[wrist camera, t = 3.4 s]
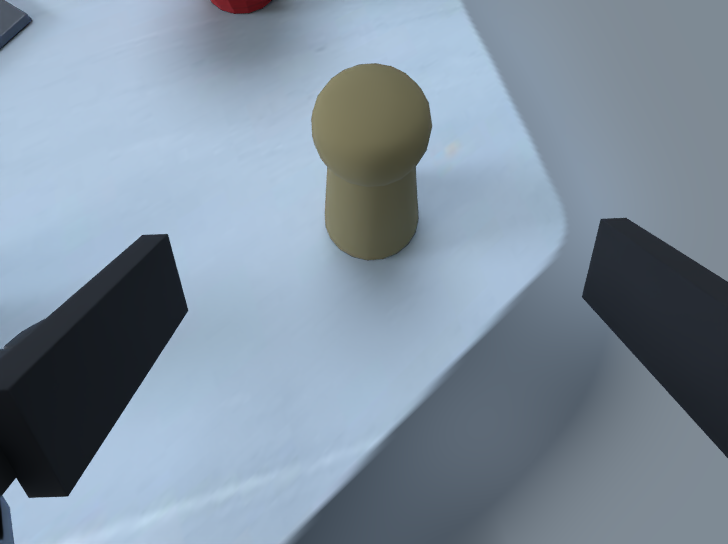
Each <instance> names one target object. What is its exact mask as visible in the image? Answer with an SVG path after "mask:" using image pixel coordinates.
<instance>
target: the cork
mask: <svg viewBox="0 0 728 544" xmlns="http://www.w3.org/2000/svg"><path fill="white" fill-rule="evenodd" d="M311 122H312V137H313V141H314V144H315V146H316V149H317V151H318V153H319V156H320V158H321V159H322V161H323V162H324V163H325V165H326V166H327V182H326V200H325V225H326V228H327V231H328V233H329V236H330V238H331V240H332V241H333V242H334V243H335V244H336V245H337V246H338V247H339V249H340V250H342V251H344V252H345V253H347V254H349V255H351V256H352V257H356V258H360V259H365V260H376V259H384V258H387V257H389V256H392V255H394V254H397V253H398V252H399V251H400V250H402V249H403V248H404V247H405V246H406V245H408V243H409V242H410V240H411V239H412V237H413V235H414V234H415V232H416V227H417V223H418V203H417V185H416V165H417V164H418V162H419V161H420V159H421V158H422V156H423V155H424V153H425V152H426V150H427V146H428V142H429V138H430V133H431V129H432V122H431V115H430V108H429V102H428V100H427V99H426V97H425V95H424V93H423V91H422V90H421V88H420V87H419V86H418V84H417V83H416V82H415V81H413V80H412V79H411V78H410V77H409V76H408V75H407V74H406V73H404V72H402V71H400V70H398V69H396V68H394V67H392V66H387V65H381V64H376V63H374V64H360V65H356V66H354V67H351V68H348V69H345V70H343V71H342V72H340V73H339V74H337V75H336V76H334V77H333V78H332V79H331V80H330V81H329V82H328V83H327V85H326V86H325V87H324V89H323V90H322V91H321V92H320V94H319V95H318V97H317V100H316V103H315V106H314V109H313V113H312V119H311Z"/></svg>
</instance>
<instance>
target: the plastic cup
mask: <svg viewBox="0 0 728 544" xmlns="http://www.w3.org/2000/svg"><path fill="white" fill-rule="evenodd" d="M271 1H272V0H211V2H212V3H213V4H214V5H216V6H217V7H218V8H220V9H221V10H223V11H227V12H230V13H234V14H240V13H251V12H253V11H256V10H259V9H262V8H263V7H265V6H266V5H267V4H268V3H270V2H271Z"/></svg>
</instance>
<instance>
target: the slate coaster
mask: <svg viewBox="0 0 728 544" xmlns="http://www.w3.org/2000/svg"><path fill="white" fill-rule="evenodd" d="M31 21H32V19H31V18H30V17H29V16H28V15H27V14H26V13H25V12H23V11H21V10H20V9H18V8H16V7H15V6H13V5H11V4H10V3H8V2H6V1H5V0H0V48H1V47H3V46H4V45H5V44H6V43H7V42H8V41H9V40H10V39H12V38H13V37H14V36H15V35H16V34H17V33H18V32H19V31H20V30H22V29H23V28H24V27H25V26H26V25H27V24H28V23H29V22H31Z"/></svg>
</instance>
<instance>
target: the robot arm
mask: <svg viewBox="0 0 728 544" xmlns="http://www.w3.org/2000/svg"><path fill="white" fill-rule="evenodd" d="M582 297H583V299H584V300H585V301H586V302H587V303H588V304H589V305H590V306H591V308H592V309H593V310H594V311H595V312H596V313H597V314H598V315H599V316H600V317H601V319H602V320H603V321H604V322H605V323H606V324H607V325H608V326H609V327H610V329H611V330H612V331H613V332H614V333H615V334H616V335H617V336H618V337H619V338H620V340H621V341H622V342H623V343H624V344H625V345H626V346H627V347H628V348H629V349H630V351H631V352H632V353H633V354H634V355H635V356H636V357H637V358H638V359H639V361H640V362H641V363H642V364H643V365H644V366H645V367H646V368H647V369H648V371H649V372H650V373H651V374H652V375H653V376H654V377H655V378H656V379H657V380H658V381H659V383H660V384H661V385H662V386H663V387H664V388H665V389H666V390H667V391H668V393H669V394H670V395H671V396H672V397H673V398H674V399H675V400H676V401H677V402H678V404H679V405H680V406H681V407H682V408H683V409H684V410H685V411H686V412H687V414H688V415H689V416H690V417H691V418H692V419H693V420H694V421H695V422H696V423H697V425H698V426H699V427H700V428H701V429H702V430H703V431H704V432H705V433H706V435H707V436H708V437H709V438H710V439H711V440H712V441H713V442H714V443H715V444H716V446H717V447H718V448H719V449H720V450H721V451H722V452H723V453H724V454H725V456H726V457H727V458H728V282H727V281H725V280H724V279H722V278H721V277H719V276H718V275H716V274H714V273H713V272H711V271H710V270H708V269H707V268H705V267H703V266H701V265H700V264H698V263H697V262H695V261H694V260H692V259H691V258H689V257H687V256H686V255H684V254H683V253H681V252H679V251H678V250H676V249H675V248H673V247H672V246H670V245H668V244H667V243H665V242H664V241H662V240H660V239H659V238H657V237H656V236H654V235H652V234H651V233H649V232H648V231H646V230H644V229H643V228H641V227H640V226H638V225H637V224H635V223H633V222H631V221H630V220H629V219H627V218H613V219H601V220H600V224H599V229H598V233H597V237H596V241H595V246H594V249H593V253H592V257H591V262H590V266H589V270H588V274H587V278H586V282H585V286H584V291H583V295H582ZM187 312H188V308H187V304H186V300H185V297H184V293H183V289H182V285H181V282H180V278H179V274H178V270H177V267H176V263H175V259H174V256H173V252H172V248H171V244H170V241H169V237H168V234H157V235H142V236H141V237H140V238H139V239H137V240H136V241H135V242H134V243H133V244H132V245H130V246H129V247H128V248H127V249H126V250H125V251H124V252H122V253H121V254H120V255H119V256H118V257H117V258H115V259H114V260H113V261H112V262H111V263H110V264H108V265H107V266H106V267H105V268H104V269H103V270H102V271H100V272H99V273H98V274H97V275H96V276H95V277H93V278H92V279H91V280H90V281H89V282H88V283H87V284H85V285H84V286H83V287H82V288H81V289H80V290H78V291H77V292H76V293H75V294H74V295H73V296H71V297H70V298H69V299H68V300H67V301H66V302H65V303H63V304H62V305H61V306H60V307H59V308H58V309H56V310H55V311H54V312H53V313H52V314H51V315H50V316H48V317H47V318H46V319H44V320H42V321H40V322H38V323H37V324H35V325H33V326H31V327H29V328H27V329H26V330H24V331H22V332H21V333H19V334H18V335H17V336H16V337H15V338H13V339H12V340H11V341H10V342H9V343H8V344H6V345H5V346H4V349H0V544H14V538H13V530H12V522H11V514H10V507H9V506H8V504H7V502H6V500H5V499H4V497H3V496H2V495H3V493H4V492H5V491H6V490H7V488H8V487H9V486H10V485H11V483H12V482H13V481H14V480H15V478H17V480H18V481H19V483H20V484H21V486H22V488H23V489H24V491H25V492H26V494H27V496H28V497H29V498H35V497H65V496H69V494H70V493H71V491H72V489H73V488H74V486H75V485H76V483H77V482H78V480H79V479H80V477H81V476H82V474H83V472H84V471H85V469H86V468H87V466H88V465H89V463H90V462H91V460H92V459H93V457H94V455H95V454H96V452H97V451H98V449H99V448H100V446H101V445H102V443H103V442H104V440H105V438H106V437H107V435H108V434H109V432H110V431H111V429H112V428H113V426H114V425H115V423H116V421H117V420H118V418H119V417H120V415H121V414H122V412H123V411H124V409H125V408H126V406H127V404H128V403H129V401H130V400H131V398H132V397H133V395H134V394H135V392H136V391H137V389H138V387H139V386H140V384H141V383H142V381H143V380H144V378H145V377H146V375H147V374H148V372H149V370H150V369H151V367H152V366H153V364H154V363H155V361H156V360H157V358H158V357H159V355H160V354H161V352H162V350H163V349H164V347H165V346H166V344H167V343H168V341H169V340H170V338H171V337H172V335H173V333H174V332H175V330H176V329H177V327H178V326H179V324H180V323H181V321H182V320H183V318H184V316H185V315H186V313H187Z"/></svg>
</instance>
